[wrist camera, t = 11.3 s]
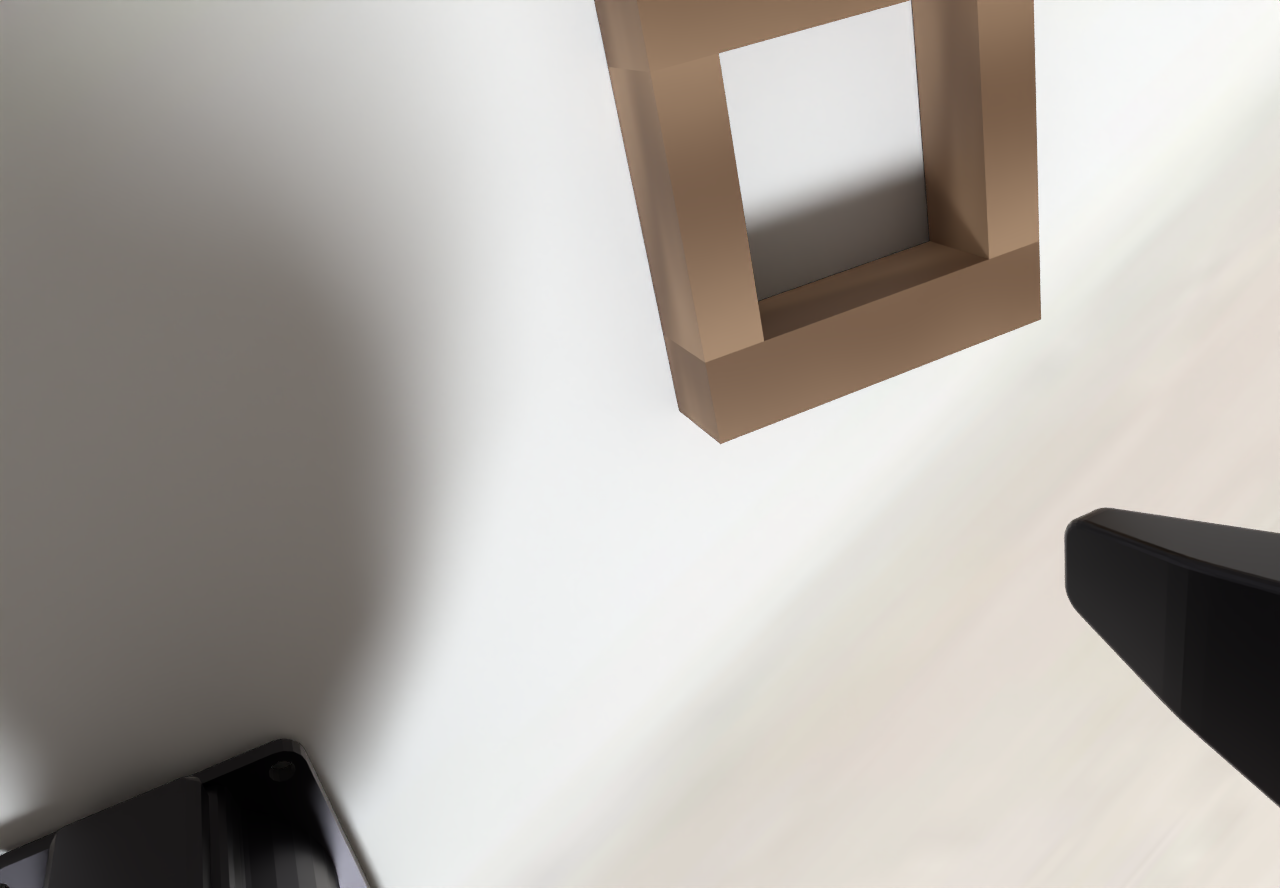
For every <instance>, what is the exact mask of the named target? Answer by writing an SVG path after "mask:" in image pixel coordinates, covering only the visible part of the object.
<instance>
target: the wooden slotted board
mask: <svg viewBox="0 0 1280 888" xmlns="http://www.w3.org/2000/svg"><path fill="white" fill-rule="evenodd" d="M594 1H595V6H596V10H597V15H598V20H599V25H600V30H601V35H602V40H603V44H604V49H605V54H606V59H607V64H608V69H609V73H610V78H611V83H612V88H613V93H614V98H615V102H616V107H617V112H618V117H619V122H620V127H621V131H622V136H623V141H624V146H625V151H626V156H627V160H628V165H629V170H630V175H631V180H632V185H633V189H634V194H635V199H636V204H637V209H638V214H639V219H640V223H641V228H642V233H643V238H644V243H645V248H646V252H647V257H648V262H649V267H650V272H651V277H652V281H653V286H654V291H655V296H656V301H657V306H658V310H659V315H660V320H661V325H662V330H663V335H664V339H665V344H666V349H667V354H668V359H669V364H670V369H671V373H672V378H673V383H674V388H675V393H676V398H677V402H678V407H679V411H680V412H681V413H683V414H684V415H685V416H686V417H688V418H689V419H690V420H691V421H693V422H694V423H695V424H696V425H698V426H699V427H700V428H701V429H702V430H704V431H705V432H706V433H707V434H709V435H710V436H711V437H712V438H714V439H715V440H716V441H717V442H719V443H720V444H722V443H724V442H727V441H729V440H732V439H735V438H737V437H740V436H742V435H745V434H747V433H750V432H753V431H755V430H758V429H760V428H763V427H765V426H768V425H771V424H773V423H776V422H778V421H781V420H783V419H786V418H789V417H791V416H794V415H796V414H799V413H801V412H804V411H807V410H809V409H812V408H814V407H817V406H819V405H822V404H825V403H827V402H830V401H832V400H835V399H837V398H840V397H843V396H845V395H848V394H850V393H853V392H855V391H858V390H861V389H863V388H866V387H868V386H871V385H873V384H876V383H879V382H881V381H884V380H886V379H889V378H891V377H894V376H897V375H899V374H902V373H904V372H907V371H909V370H912V369H915V368H917V367H920V366H922V365H925V364H927V363H930V362H933V361H935V360H938V359H940V358H943V357H945V356H948V355H951V354H953V353H956V352H958V351H961V350H963V349H966V348H969V347H971V346H974V345H976V344H979V343H981V342H984V341H987V340H989V339H992V338H994V337H997V336H999V335H1002V334H1005V333H1007V332H1010V331H1012V330H1015V329H1017V328H1020V327H1023V326H1025V325H1028V324H1030V323H1033V322H1035V321H1038V320H1040V319H1041V301H1040V257H1039V214H1038V170H1037V127H1036V83H1035V40H1034V0H912V8H913V21H914V35H915V48H916V62H917V75H918V89H919V102H920V116H921V129H922V143H923V157H924V170H925V184H926V197H927V211H928V224H929V238H930V241H929V242H926V243H923V244H920V245H917V246H914V247H911V248H909V249H906V250H903V251H900V252H897V253H894V254H892V255H889V256H886V257H883V258H880V259H877V260H875V261H872V262H869V263H866V264H863V265H860V266H857V267H855V268H852V269H849V270H846V271H843V272H840V273H838V274H835V275H832V276H829V277H826V278H823V279H821V280H818V281H815V282H812V283H809V284H806V285H804V286H801V287H798V288H795V289H792V290H789V291H786V292H784V293H781V294H778V295H775V296H772V297H769V298H767V299H764V300H761V301H758V299H757V293H756V287H755V280H754V274H753V268H752V261H751V255H750V249H749V242H748V236H747V230H746V223H745V217H744V211H743V205H742V198H741V192H740V186H739V179H738V173H737V167H736V160H735V154H734V148H733V141H732V135H731V129H730V122H729V116H728V110H727V103H726V97H725V91H724V84H723V78H722V72H721V66H720V59H719V53H721V52H725V51H729V50H732V49H736V48H740V47H743V46H747V45H750V44H754V43H758V42H761V41H765V40H768V39H772V38H776V37H779V36H783V35H786V34H790V33H794V32H797V31H801V30H805V29H808V28H812V27H815V26H819V25H823V24H826V23H830V22H833V21H837V20H841V19H844V18H848V17H851V16H855V15H859V14H862V13H866V12H870V11H873V10H877V9H880V8H884V7H888V6H891V5H895V4H898V3H902V2H906V1H909V0H594Z"/></svg>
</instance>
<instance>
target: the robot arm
mask: <svg viewBox="0 0 1280 888" xmlns="http://www.w3.org/2000/svg"><path fill="white" fill-rule="evenodd" d="M1064 545H1065V589H1066V593H1067V596H1068V598H1069V600H1070V602H1071V604H1072V605H1073V607H1074V608H1075V610H1076V611H1077V612H1078V613H1079V614H1080V615H1081V617H1082V618H1083V619H1084V620H1085V621H1086V622H1087V623H1088V624H1089V625H1090V626H1091V627H1092V628H1093V629H1094V630H1095V631H1096V632H1097V633H1098V634H1099V636H1100V637H1101V638H1102V639H1103V640H1104V641H1105V642H1106V643H1107V644H1108V645H1109V646H1110V647H1111V648H1112V649H1113V650H1114V651H1115V652H1116V653H1117V655H1118V656H1119V657H1120V658H1121V659H1122V660H1123V661H1124V662H1125V663H1126V664H1127V665H1128V666H1129V667H1130V668H1131V669H1132V670H1133V671H1134V672H1135V674H1136V675H1137V676H1138V677H1139V678H1140V679H1141V680H1142V681H1143V682H1144V683H1145V684H1146V685H1147V686H1148V687H1149V688H1150V689H1151V690H1152V691H1153V693H1154V694H1155V695H1156V696H1157V697H1158V698H1159V699H1160V700H1161V701H1162V702H1163V703H1164V704H1165V705H1166V706H1167V707H1168V708H1169V709H1170V710H1171V711H1172V712H1173V713H1174V714H1175V715H1176V716H1177V717H1178V718H1179V719H1180V720H1181V721H1182V722H1183V723H1184V724H1185V725H1187V726H1188V727H1189V728H1190V729H1191V730H1192V731H1193V732H1194V733H1195V734H1196V735H1198V736H1199V737H1200V738H1201V739H1202V740H1203V741H1204V742H1205V743H1207V744H1208V745H1209V746H1210V747H1211V748H1212V749H1213V750H1215V751H1216V752H1217V753H1218V754H1219V755H1220V756H1221V757H1223V758H1224V759H1225V760H1226V761H1227V762H1228V763H1229V764H1231V765H1232V766H1233V767H1234V768H1235V769H1236V770H1237V771H1239V772H1240V773H1241V774H1242V775H1243V776H1244V777H1245V778H1247V779H1248V780H1249V781H1250V782H1251V783H1252V784H1253V785H1255V786H1256V787H1257V788H1258V789H1259V790H1260V791H1261V792H1263V793H1264V794H1265V795H1266V796H1267V797H1268V798H1270V799H1271V800H1272V801H1273V802H1274V803H1275V804H1276V805H1278V806H1279V807H1280V533H1274V532H1267V531H1261V530H1254V529H1247V528H1241V527H1234V526H1227V525H1221V524H1214V523H1207V522H1201V521H1194V520H1187V519H1181V518H1174V517H1167V516H1161V515H1154V514H1147V513H1141V512H1134V511H1128V510H1121V509H1114V508H1100V509H1096V510H1094V511H1092V512H1090V513H1087V514H1085V515H1083V516H1081V517H1079V518H1076V519H1074V520H1073V521H1071V522H1070V523H1069V524H1068V526H1067V528H1066V530H1065V536H1064ZM280 761H289V762H291V765H289V766H288V767H286V768H284V769H279V770H278V769H274V768H272V766H273V765H274V764H276V763H277V762H280ZM0 883H2V884H6V885H7V886H8V887H6V888H371V887H370V885H369V883H368V881H367V879H366V877H365V875H364V873H363V871H362V868H361V866H360V864H359V862H358V860H357V858H356V856H355V854H354V852H353V850H352V847H351V845H350V843H349V841H348V839H347V837H346V835H345V833H344V831H343V829H342V827H341V824H340V822H339V820H338V818H337V816H336V814H335V812H334V810H333V808H332V806H331V803H330V801H329V799H328V797H327V795H326V793H325V791H324V789H323V787H322V785H321V783H320V780H319V778H318V776H317V774H316V772H315V770H314V768H313V766H312V764H311V762H310V759H309V757H308V755H307V753H306V751H305V749H304V748H303V747H302V745H301V744H300V743H298V742H296V741H294V740H292V739H280V740H276V741H272V742H270V743H267V744H265V745H262V746H260V747H258V748H255V749H253V750H250V751H248V752H246V753H243V754H241V755H239V756H236V757H234V758H231V759H229V760H227V761H224V762H222V763H220V764H217V765H215V766H212V767H210V768H208V769H205V770H203V771H201V772H198V773H196V774H193V775H191V776H189V777H182V778H179V779H177V780H175V781H172V782H170V783H168V784H165V785H163V786H160V787H158V788H156V789H153V790H151V791H148V792H146V793H144V794H141V795H139V796H137V797H134V798H132V799H129V800H127V801H125V802H122V803H120V804H117V805H115V806H113V807H110V808H108V809H106V810H103V811H101V812H98V813H96V814H94V815H91V816H89V817H87V818H84V819H82V820H79V821H77V822H75V823H72V824H70V825H67V826H65V827H63V828H61V829H59V830H58V831H57V832H55V833H53V834H51V835H48V836H46V837H43V838H41V839H39V840H36V841H34V842H32V843H29V844H27V845H24V846H22V847H20V848H17V849H15V850H13V851H10V852H8V853H5V854H3V855H1V856H0Z"/></svg>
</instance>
